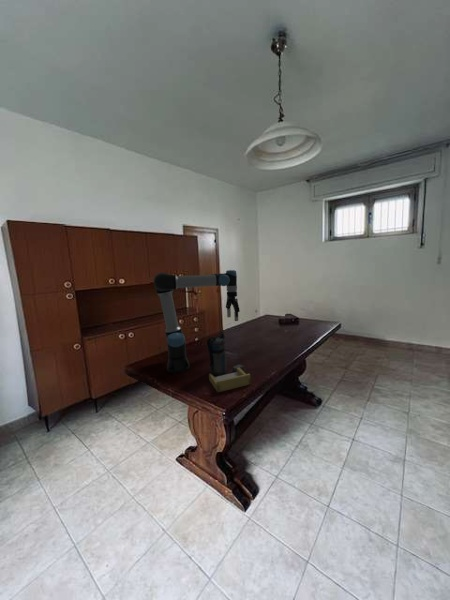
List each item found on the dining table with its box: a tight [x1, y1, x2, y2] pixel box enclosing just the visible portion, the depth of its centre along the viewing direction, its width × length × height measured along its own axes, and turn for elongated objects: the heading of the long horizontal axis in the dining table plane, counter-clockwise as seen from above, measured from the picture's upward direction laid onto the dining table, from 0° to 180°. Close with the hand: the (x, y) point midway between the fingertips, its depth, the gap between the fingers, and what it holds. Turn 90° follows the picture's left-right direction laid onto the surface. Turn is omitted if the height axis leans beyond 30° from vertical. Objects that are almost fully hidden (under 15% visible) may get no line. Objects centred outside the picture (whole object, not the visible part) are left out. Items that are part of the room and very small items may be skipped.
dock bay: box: [208, 368, 251, 393], centre depth 146 cm, size 20×16×6 cm
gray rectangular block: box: [232, 363, 245, 373], centre depth 161 cm, size 6×4×3 cm, turn 130°
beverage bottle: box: [206, 332, 228, 376], centre depth 157 cm, size 10×13×25 cm
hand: (232, 319), depth 187 cm, fingers open, 13 cm apart
